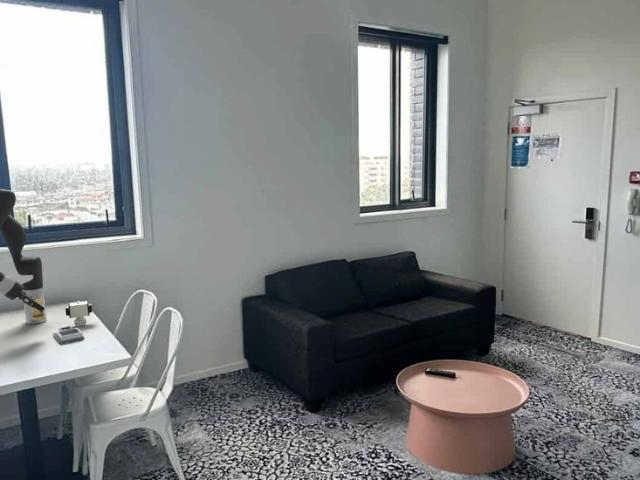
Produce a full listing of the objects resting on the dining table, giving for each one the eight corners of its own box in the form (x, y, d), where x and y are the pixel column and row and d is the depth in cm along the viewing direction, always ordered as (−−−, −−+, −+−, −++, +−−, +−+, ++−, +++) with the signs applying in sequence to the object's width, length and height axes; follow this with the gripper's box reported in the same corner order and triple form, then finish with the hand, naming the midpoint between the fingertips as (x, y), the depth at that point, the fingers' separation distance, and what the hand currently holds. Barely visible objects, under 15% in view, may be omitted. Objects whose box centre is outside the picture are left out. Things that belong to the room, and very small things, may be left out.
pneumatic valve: (93, 324, 257) (91, 300, 255) (67, 328, 252) (64, 303, 250) (93, 321, 262) (91, 298, 260) (67, 325, 257) (65, 301, 255)
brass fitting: (30, 318, 237) (28, 298, 236) (44, 315, 240) (42, 296, 239) (32, 321, 233) (30, 301, 231) (46, 318, 236) (44, 299, 235)
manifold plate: (53, 335, 241) (52, 329, 240) (76, 331, 247) (75, 324, 246) (59, 344, 229) (59, 337, 228) (84, 339, 235) (83, 332, 234)
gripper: (17, 283, 223) (51, 305, 232) (12, 277, 235) (45, 298, 244) (4, 297, 221) (39, 319, 230) (0, 291, 233) (33, 312, 242)
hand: (42, 308), depth 237 cm, fingers closed on brass fitting, 4 cm apart
